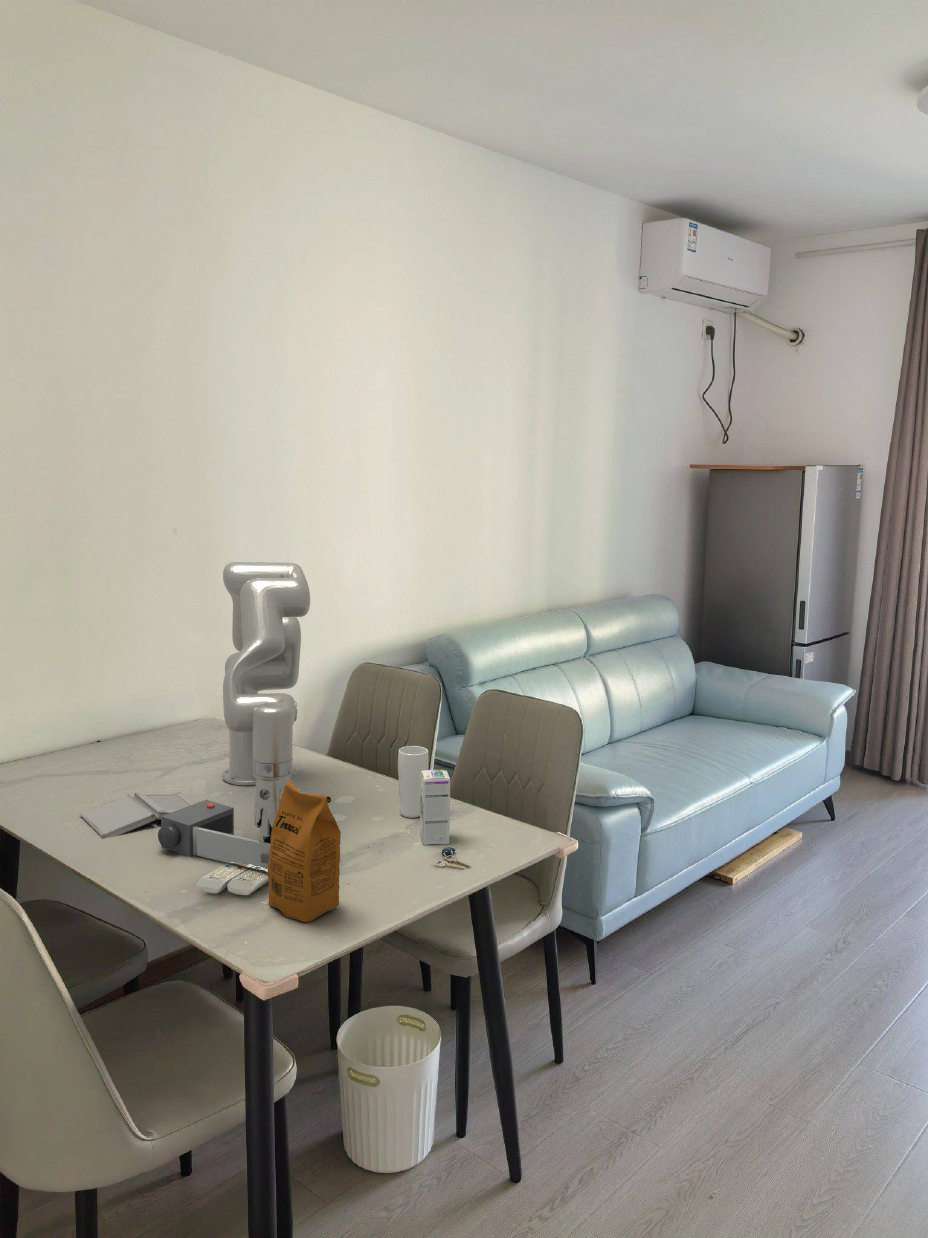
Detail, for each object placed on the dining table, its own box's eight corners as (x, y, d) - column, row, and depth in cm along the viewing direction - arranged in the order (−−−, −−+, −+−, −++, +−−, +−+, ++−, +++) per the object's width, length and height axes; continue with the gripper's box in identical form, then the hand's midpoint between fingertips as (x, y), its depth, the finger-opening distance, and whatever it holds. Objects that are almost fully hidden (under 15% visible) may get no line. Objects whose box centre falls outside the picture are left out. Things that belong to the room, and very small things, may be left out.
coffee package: (303, 887, 177) (304, 773, 173) (347, 909, 169) (349, 790, 165) (258, 904, 170) (258, 785, 166) (302, 928, 161) (302, 804, 158)
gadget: (102, 842, 195) (102, 825, 195) (79, 819, 207) (78, 803, 206) (208, 819, 210) (208, 803, 209) (180, 799, 221) (180, 783, 221)
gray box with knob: (206, 828, 202) (206, 796, 201) (234, 837, 198) (233, 805, 197) (153, 850, 191) (153, 816, 190) (181, 860, 187) (181, 825, 185)
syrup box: (449, 844, 199) (452, 778, 196) (421, 845, 198) (423, 778, 195) (445, 834, 204) (448, 769, 202) (418, 834, 203) (420, 769, 201)
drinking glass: (433, 814, 215) (435, 750, 212) (411, 822, 210) (413, 756, 208) (412, 806, 219) (413, 743, 217) (390, 814, 215) (391, 749, 212)
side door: (278, 872, 182) (278, 845, 181) (273, 875, 180) (274, 848, 179) (195, 852, 189) (195, 826, 188) (190, 855, 188) (190, 828, 187)
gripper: (279, 780, 176) (279, 874, 180) (302, 756, 191) (302, 843, 194) (240, 777, 177) (240, 871, 180) (266, 754, 192) (266, 840, 195)
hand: (272, 856), depth 187 cm, fingers closed
